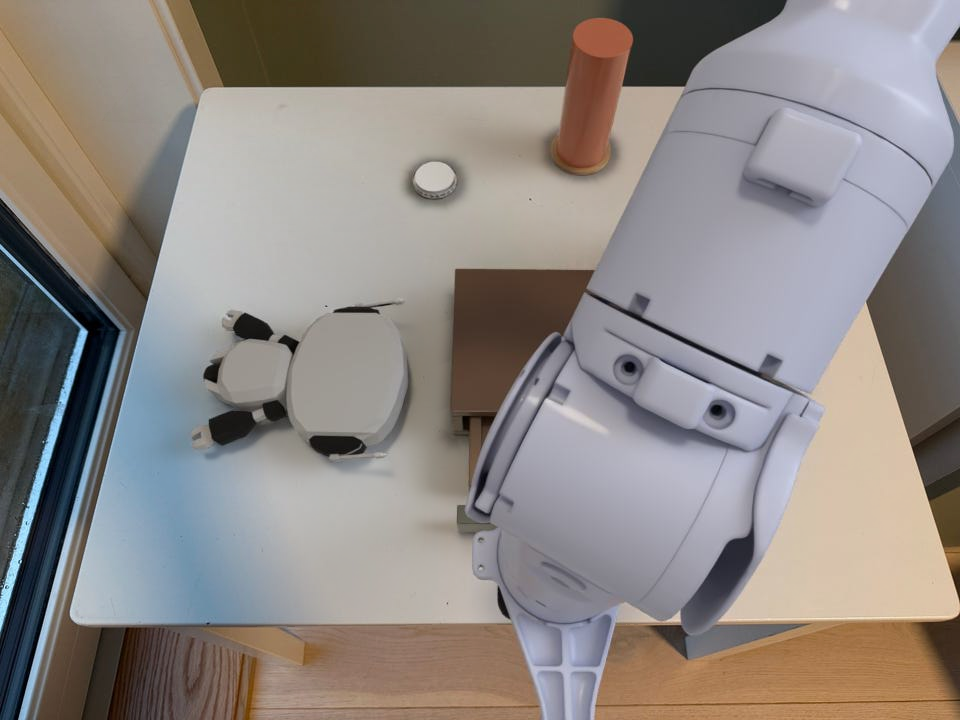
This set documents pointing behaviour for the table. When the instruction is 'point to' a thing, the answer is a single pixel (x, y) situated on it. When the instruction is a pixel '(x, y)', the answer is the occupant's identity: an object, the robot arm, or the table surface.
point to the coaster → (573, 169)
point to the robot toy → (311, 381)
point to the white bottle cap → (434, 179)
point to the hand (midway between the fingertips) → (542, 580)
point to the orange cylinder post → (592, 90)
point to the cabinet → (504, 331)
